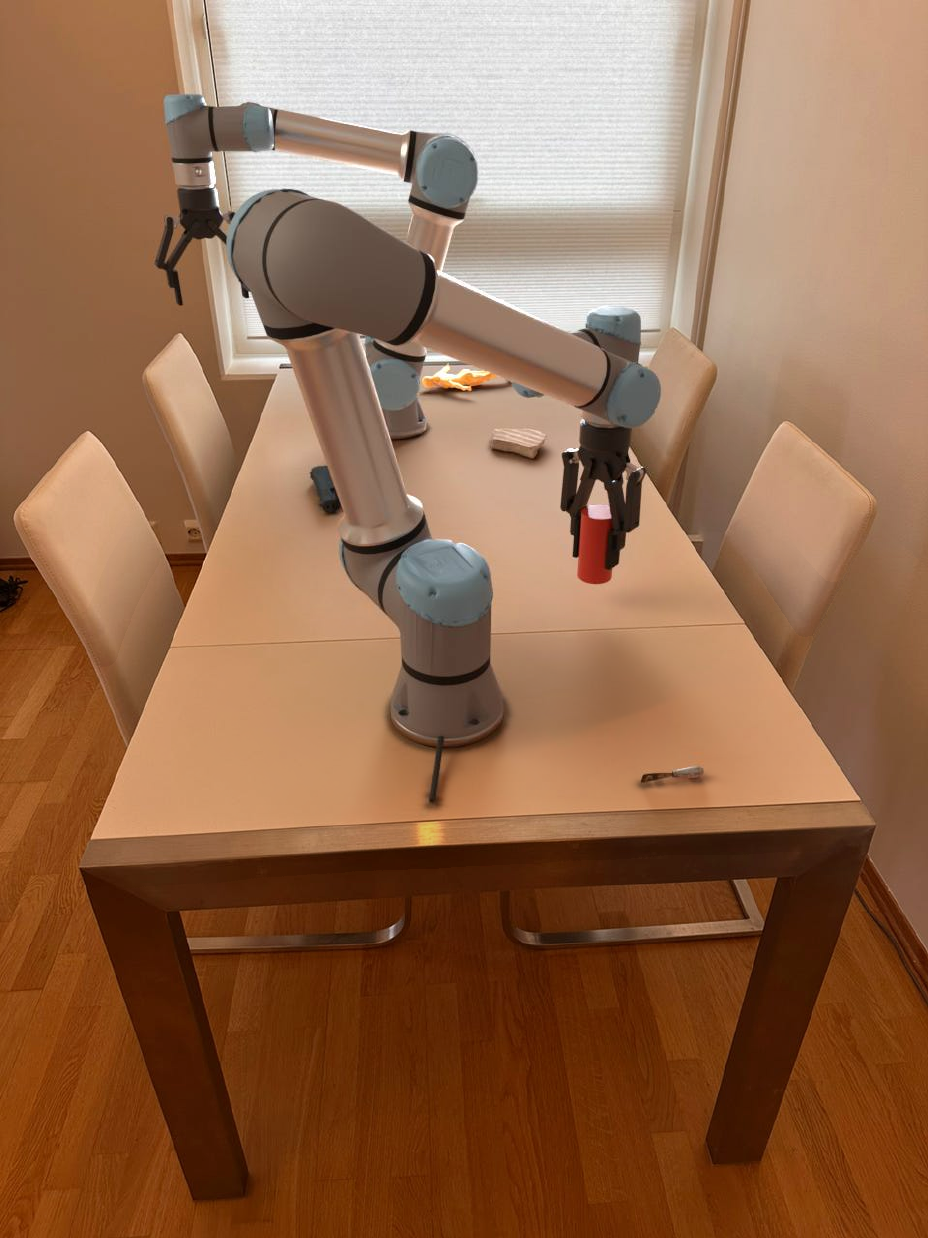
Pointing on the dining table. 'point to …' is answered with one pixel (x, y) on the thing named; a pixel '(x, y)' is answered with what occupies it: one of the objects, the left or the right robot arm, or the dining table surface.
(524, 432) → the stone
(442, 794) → the dining table surface
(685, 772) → the putty knife
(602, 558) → the can
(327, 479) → the handgun
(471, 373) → the human figure
